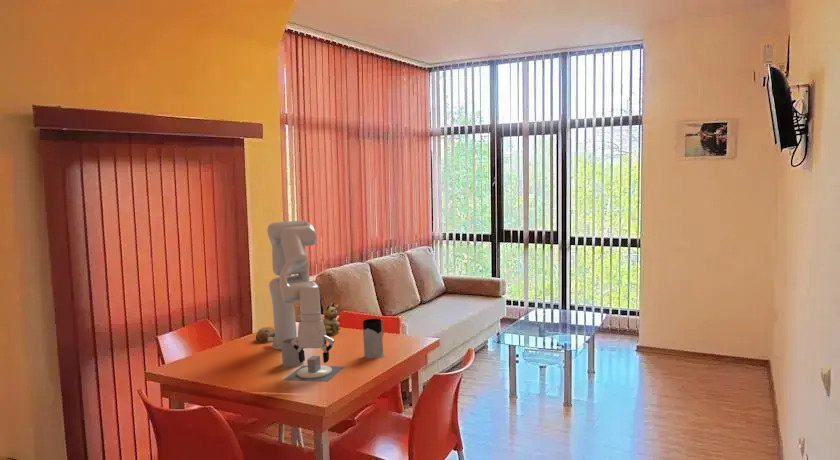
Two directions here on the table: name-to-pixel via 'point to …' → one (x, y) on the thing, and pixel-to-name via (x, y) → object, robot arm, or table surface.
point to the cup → (290, 354)
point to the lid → (314, 369)
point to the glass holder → (373, 338)
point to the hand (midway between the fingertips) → (314, 361)
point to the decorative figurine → (331, 319)
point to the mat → (324, 379)
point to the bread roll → (265, 334)
